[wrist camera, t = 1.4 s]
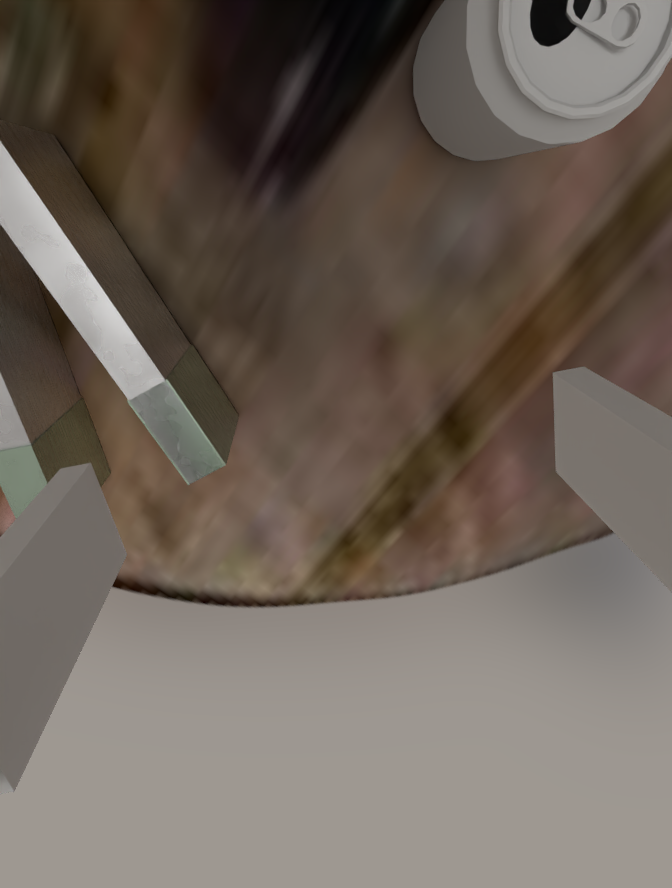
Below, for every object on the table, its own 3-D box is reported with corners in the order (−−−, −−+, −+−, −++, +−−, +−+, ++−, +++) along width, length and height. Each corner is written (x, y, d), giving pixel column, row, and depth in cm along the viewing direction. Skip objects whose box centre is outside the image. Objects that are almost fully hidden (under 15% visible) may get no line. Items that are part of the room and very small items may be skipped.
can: (451, -44, 27) (562, -217, 16) (584, 34, 28) (769, -73, 17) (384, 123, 29) (438, 76, 18) (509, 186, 31) (629, 178, 20)
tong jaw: (19, 156, 28) (-62, 143, 22) (55, 133, 28) (-16, 113, 22) (207, 432, 35) (188, 484, 28) (238, 415, 34) (225, 464, 28)
